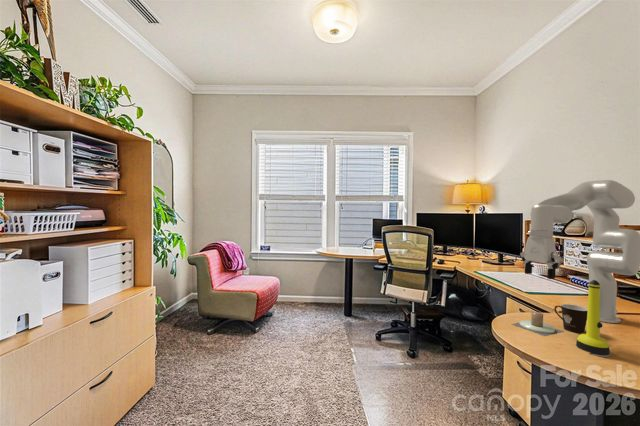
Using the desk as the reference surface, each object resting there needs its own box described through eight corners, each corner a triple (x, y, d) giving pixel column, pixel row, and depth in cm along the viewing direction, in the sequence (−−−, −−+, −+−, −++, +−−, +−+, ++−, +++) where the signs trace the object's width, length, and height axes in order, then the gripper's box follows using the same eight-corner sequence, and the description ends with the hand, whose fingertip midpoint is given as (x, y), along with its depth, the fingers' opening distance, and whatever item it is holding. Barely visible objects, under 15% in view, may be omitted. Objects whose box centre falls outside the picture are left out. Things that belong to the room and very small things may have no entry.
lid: (530, 320, 132) (531, 307, 132) (561, 331, 121) (562, 316, 121) (513, 324, 127) (513, 310, 127) (544, 335, 116) (544, 320, 116)
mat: (530, 321, 133) (530, 320, 133) (563, 332, 121) (563, 331, 121) (511, 325, 127) (511, 324, 127) (544, 337, 116) (544, 336, 116)
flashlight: (572, 278, 107) (604, 283, 99) (586, 276, 111) (617, 281, 103) (570, 347, 108) (601, 358, 99) (584, 343, 111) (615, 354, 103)
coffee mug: (593, 337, 117) (594, 311, 117) (568, 334, 119) (569, 309, 119) (574, 326, 129) (575, 303, 129) (551, 324, 131) (552, 301, 130)
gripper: (515, 232, 130) (513, 271, 130) (555, 236, 114) (553, 280, 113) (528, 233, 132) (526, 272, 132) (570, 236, 115) (568, 280, 115)
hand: (539, 276), depth 123 cm, fingers open, 9 cm apart
